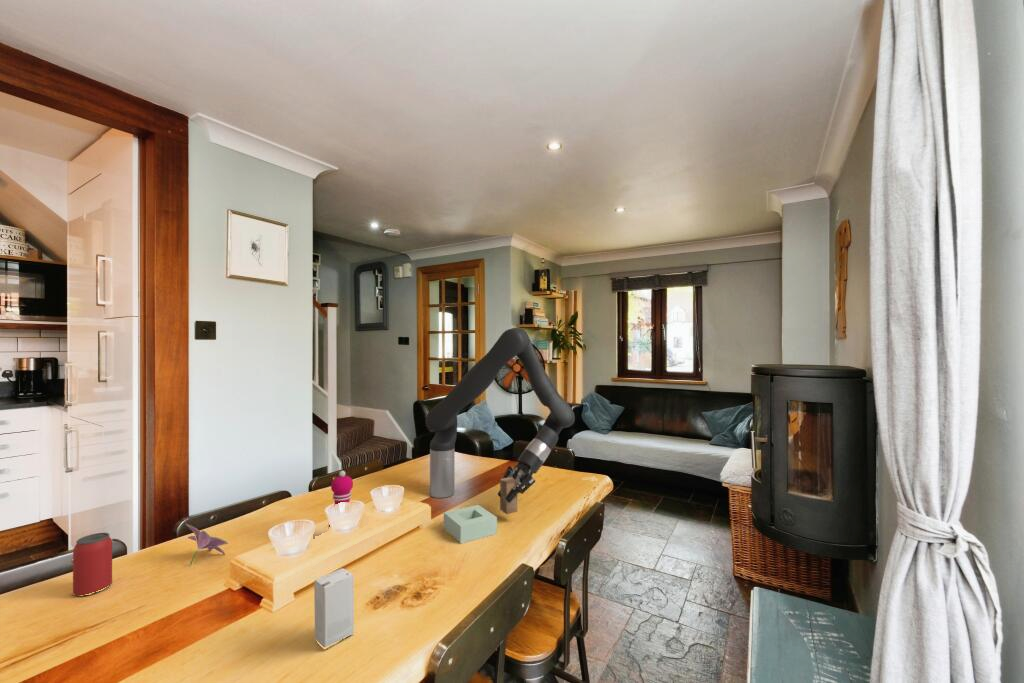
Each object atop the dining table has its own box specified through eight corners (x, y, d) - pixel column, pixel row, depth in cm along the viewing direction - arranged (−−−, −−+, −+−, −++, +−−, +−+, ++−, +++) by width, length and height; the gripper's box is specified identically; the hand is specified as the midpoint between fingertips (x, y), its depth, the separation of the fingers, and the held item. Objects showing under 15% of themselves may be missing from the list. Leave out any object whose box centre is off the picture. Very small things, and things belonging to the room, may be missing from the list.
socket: (443, 528, 133) (443, 512, 133) (478, 520, 140) (478, 504, 140) (460, 543, 123) (460, 526, 123) (496, 533, 130) (497, 517, 130)
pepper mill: (359, 534, 129) (359, 467, 129) (347, 545, 122) (348, 474, 122) (336, 533, 130) (336, 466, 130) (323, 544, 123) (323, 474, 123)
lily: (227, 568, 112) (241, 528, 116) (174, 565, 104) (191, 522, 109) (213, 568, 119) (227, 530, 124) (163, 564, 112) (179, 524, 117)
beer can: (118, 584, 102) (119, 533, 102) (83, 600, 96) (84, 546, 96) (101, 579, 104) (101, 529, 104) (65, 594, 98) (66, 541, 98)
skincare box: (343, 626, 87) (343, 565, 87) (354, 635, 84) (355, 573, 84) (312, 642, 82) (312, 578, 83) (324, 653, 80) (324, 587, 80)
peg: (500, 510, 140) (500, 479, 140) (510, 507, 142) (510, 477, 142) (506, 514, 136) (506, 482, 136) (517, 511, 138) (517, 480, 139)
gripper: (516, 444, 149) (485, 485, 143) (540, 453, 137) (508, 498, 131) (528, 457, 152) (499, 498, 145) (553, 467, 140) (522, 512, 133)
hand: (503, 498), depth 138 cm, fingers closed on peg, 4 cm apart
